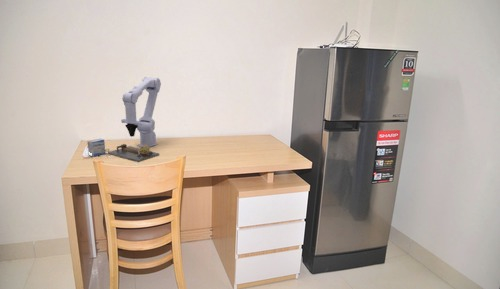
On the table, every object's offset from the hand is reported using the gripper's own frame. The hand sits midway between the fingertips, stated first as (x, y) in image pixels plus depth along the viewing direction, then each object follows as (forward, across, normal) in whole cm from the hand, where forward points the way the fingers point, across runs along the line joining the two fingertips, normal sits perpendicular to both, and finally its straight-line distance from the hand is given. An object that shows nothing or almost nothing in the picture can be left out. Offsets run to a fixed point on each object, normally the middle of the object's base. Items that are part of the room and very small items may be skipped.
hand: (132, 136), depth 192 cm
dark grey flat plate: (+10, +4, -3) cm, 11 cm away
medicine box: (+10, -12, -15) cm, 22 cm away
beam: (+9, +5, -4) cm, 11 cm away
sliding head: (+8, +12, -3) cm, 15 cm away
